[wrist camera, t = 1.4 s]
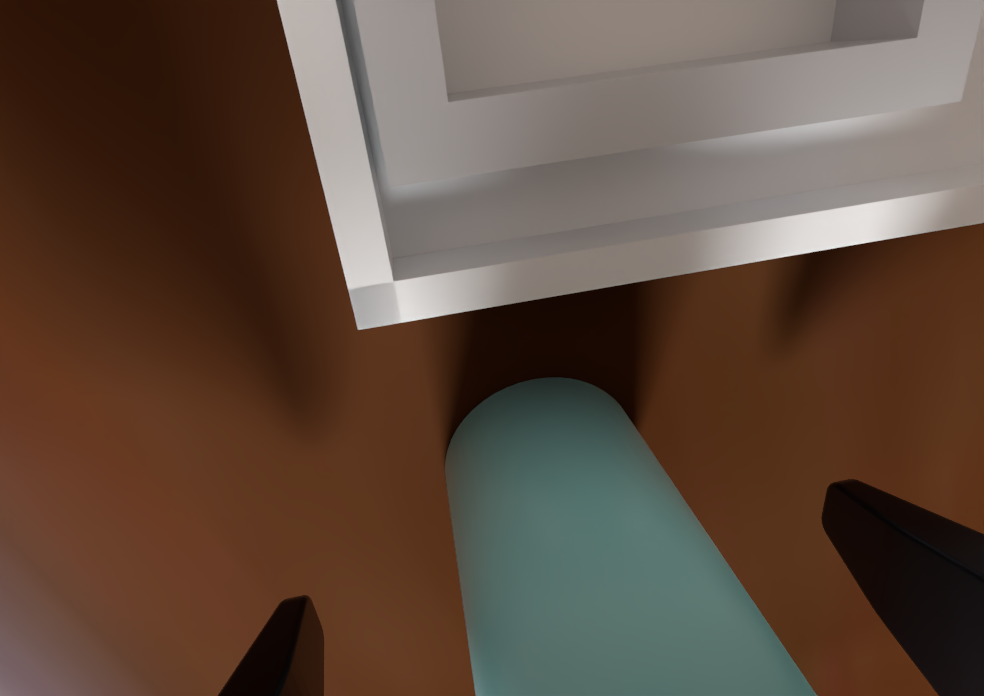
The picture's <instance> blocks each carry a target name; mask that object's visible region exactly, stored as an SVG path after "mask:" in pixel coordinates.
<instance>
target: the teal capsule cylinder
mask: <svg viewBox="0 0 984 696" xmlns="http://www.w3.org/2000/svg"><path fill="white" fill-rule="evenodd" d="M445 478H446V486H447V493H448V500H449V508H450V515H451V522H452V529H453V536H454V543H455V551H456V558H457V565H458V572H459V579H460V586H461V593H462V601H463V608H464V615H465V622H466V629H467V636H468V644H469V651H470V658H471V665H472V672H473V679H474V687H475V694H476V696H817V695H816V693H815V692H814V690H813V689H812V688H811V686H810V685H809V683H808V682H807V680H806V679H805V677H804V676H803V674H802V673H801V671H800V670H799V668H798V667H797V665H796V664H795V662H794V661H793V659H792V658H791V657H790V655H789V654H788V652H787V651H786V649H785V648H784V646H783V645H782V643H781V642H780V640H779V639H778V637H777V636H776V634H775V633H774V631H773V630H772V628H771V627H770V625H769V624H768V623H767V621H766V620H765V618H764V617H763V615H762V614H761V612H760V611H759V609H758V608H757V606H756V605H755V603H754V602H753V600H752V599H751V597H750V596H749V594H748V593H747V592H746V590H745V589H744V587H743V586H742V584H741V583H740V581H739V580H738V578H737V577H736V575H735V574H734V572H733V571H732V569H731V568H730V566H729V565H728V563H727V562H726V560H725V559H724V558H723V556H722V555H721V553H720V552H719V550H718V549H717V547H716V546H715V544H714V543H713V541H712V540H711V538H710V537H709V535H708V534H707V532H706V531H705V529H704V528H703V527H702V525H701V524H700V522H699V521H698V519H697V518H696V516H695V515H694V513H693V512H692V510H691V509H690V507H689V506H688V504H687V503H686V501H685V500H684V498H683V497H682V495H681V494H680V493H679V491H678V490H677V488H676V487H675V485H674V484H673V482H672V481H671V479H670V478H669V476H668V475H667V473H666V472H665V470H664V469H663V467H662V466H661V464H660V463H659V462H658V460H657V459H656V457H655V456H654V454H653V453H652V451H651V450H650V448H649V447H648V445H647V444H646V442H645V441H644V439H643V438H642V436H641V435H640V433H639V432H638V431H637V429H636V428H635V426H634V425H633V423H632V422H631V420H630V419H629V417H628V416H627V414H626V413H625V411H624V410H623V408H622V407H621V406H620V405H619V403H618V402H617V401H616V400H615V399H614V398H613V397H611V396H610V395H609V394H608V393H606V392H605V391H603V390H602V389H600V388H598V387H596V386H594V385H592V384H589V383H586V382H584V381H580V380H575V379H570V378H561V377H547V378H539V379H532V380H528V381H524V382H520V383H517V384H514V385H512V386H509V387H506V388H504V389H502V390H500V391H498V392H496V393H495V394H493V395H491V396H490V397H488V398H487V399H485V400H484V401H482V402H481V403H480V404H479V405H478V406H476V407H475V408H474V409H473V410H472V411H471V412H470V413H469V414H468V415H467V416H466V417H465V418H464V420H463V421H462V422H461V424H460V425H459V427H458V428H457V430H456V431H455V433H454V435H453V437H452V439H451V441H450V444H449V447H448V449H447V454H446V459H445Z"/></svg>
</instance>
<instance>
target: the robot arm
mask: <svg viewBox="0 0 984 696" xmlns="http://www.w3.org/2000/svg"><path fill="white" fill-rule="evenodd" d="M822 524H823V528H824V530H825V532H826V534H827V535H828V537H829V539H830V540H831V542H832V543H833V545H834V547H835V548H836V550H837V551H838V553H839V555H840V556H841V558H842V559H843V561H844V563H845V564H846V566H847V567H848V569H849V571H850V572H851V574H852V575H853V577H854V579H855V580H856V582H857V583H858V585H859V587H860V588H861V590H862V592H863V593H864V595H865V596H866V598H867V599H868V601H869V602H870V604H871V605H872V607H873V608H874V610H875V611H876V613H877V614H878V616H879V617H880V618H881V620H882V621H883V622H884V624H885V625H886V627H887V628H888V629H889V630H890V632H891V633H892V634H893V636H894V637H895V638H896V640H897V641H898V642H899V644H900V645H901V646H902V648H903V649H904V650H905V652H906V653H907V654H908V655H909V657H910V658H911V659H912V661H913V662H914V663H915V665H916V666H917V667H918V669H919V670H920V671H921V673H922V674H923V675H924V677H925V678H926V679H927V680H928V682H929V683H930V684H931V686H932V687H933V688H934V690H935V691H936V692H937V694H938V695H939V696H984V534H982V533H980V532H977V531H975V530H973V529H970V528H968V527H966V526H963V525H961V524H959V523H956V522H954V521H952V520H949V519H947V518H945V517H942V516H940V515H938V514H935V513H933V512H931V511H928V510H926V509H924V508H921V507H919V506H917V505H914V504H912V503H910V502H907V501H905V500H903V499H900V498H898V497H896V496H893V495H891V494H889V493H886V492H884V491H882V490H879V489H877V488H875V487H872V486H870V485H868V484H865V483H863V482H861V481H858V480H855V479H848V480H843V481H839V482H834V483H831V484H830V485H829V486H828V488H827V492H826V497H825V502H824V507H823V512H822ZM218 696H324V636H323V630H322V626H321V624H320V621H319V618H318V616H317V613H316V610H315V608H314V605H313V603H312V600H311V598H310V597H309V596H307V595H303V596H298V597H293V598H288V599H285V600H283V601H282V602H281V603H280V604H279V605H278V607H277V608H276V610H275V611H274V613H273V614H272V616H271V617H270V619H269V620H268V622H267V623H266V625H265V626H264V628H263V629H262V631H261V632H260V634H259V635H258V637H257V638H256V640H255V641H254V642H253V644H252V645H251V647H250V648H249V650H248V651H247V653H246V654H245V656H244V657H243V659H242V660H241V662H240V663H239V665H238V666H237V668H236V669H235V671H234V672H233V674H232V675H231V677H230V678H229V680H228V681H227V683H226V684H225V686H224V687H223V689H222V690H221V692H220V693H219V695H218Z"/></svg>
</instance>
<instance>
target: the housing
mask: <svg viewBox="0 0 984 696" xmlns="http://www.w3.org/2000/svg"><path fill="white" fill-rule="evenodd" d="M277 3H278V7H279V11H280V16H281V20H282V24H283V28H284V32H285V36H286V40H287V44H288V48H289V52H290V56H291V60H292V64H293V68H294V72H295V76H296V80H297V84H298V88H299V93H300V97H301V101H302V105H303V109H304V113H305V117H306V121H307V125H308V129H309V133H310V137H311V141H312V145H313V149H314V153H315V157H316V161H317V165H318V170H319V174H320V178H321V182H322V186H323V190H324V194H325V198H326V202H327V206H328V210H329V214H330V218H331V222H332V226H333V230H334V234H335V238H336V242H337V247H338V251H339V255H340V259H341V263H342V267H343V271H344V275H345V279H346V283H347V287H348V291H349V295H350V299H351V303H352V307H353V311H354V315H355V319H356V324H357V328H358V330H362V329H367V328H373V327H379V326H385V325H391V324H397V323H402V322H408V321H414V320H420V319H426V318H432V317H437V316H443V315H449V314H455V313H461V312H467V311H472V310H478V309H484V308H490V307H496V306H501V305H507V304H513V303H519V302H525V301H531V300H536V299H542V298H548V297H554V296H560V295H566V294H571V293H577V292H583V291H589V290H595V289H601V288H606V287H612V286H618V285H624V284H630V283H635V282H641V281H647V280H653V279H659V278H665V277H670V276H676V275H682V274H688V273H694V272H700V271H705V270H711V269H717V268H723V267H729V266H735V265H740V264H746V263H752V262H758V261H764V260H769V259H775V258H781V257H787V256H793V255H799V254H804V253H810V252H816V251H822V250H828V249H834V248H839V247H845V246H851V245H857V244H863V243H868V242H874V241H880V240H886V239H892V238H898V237H903V236H909V235H915V234H921V233H927V232H933V231H938V230H944V229H950V228H956V227H962V226H968V225H973V224H979V223H984V0H277Z"/></svg>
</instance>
